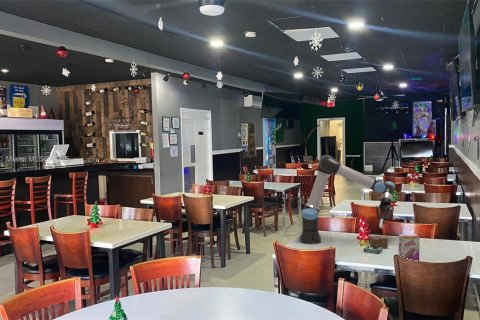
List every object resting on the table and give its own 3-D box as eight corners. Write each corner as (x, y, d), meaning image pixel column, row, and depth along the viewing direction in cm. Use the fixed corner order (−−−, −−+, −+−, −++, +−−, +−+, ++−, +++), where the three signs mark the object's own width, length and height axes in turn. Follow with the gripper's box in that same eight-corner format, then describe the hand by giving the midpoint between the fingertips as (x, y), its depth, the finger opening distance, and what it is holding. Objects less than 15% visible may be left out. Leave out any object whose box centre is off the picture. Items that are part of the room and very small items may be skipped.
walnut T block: (366, 248, 285) (366, 238, 285) (370, 245, 293) (370, 235, 293) (384, 250, 278) (384, 240, 278) (387, 247, 286) (387, 237, 286)
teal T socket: (363, 252, 277) (363, 248, 277) (367, 249, 284) (367, 245, 283) (378, 254, 271) (378, 250, 271) (382, 251, 278) (382, 247, 278)
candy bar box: (400, 263, 252) (400, 236, 251) (398, 260, 257) (398, 234, 256) (419, 263, 251) (419, 236, 250) (417, 260, 256) (417, 234, 255)
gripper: (396, 204, 304) (391, 231, 291) (378, 203, 311) (372, 229, 298) (394, 197, 300) (389, 225, 287) (376, 196, 307) (370, 223, 294)
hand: (380, 227), depth 293 cm, fingers closed
